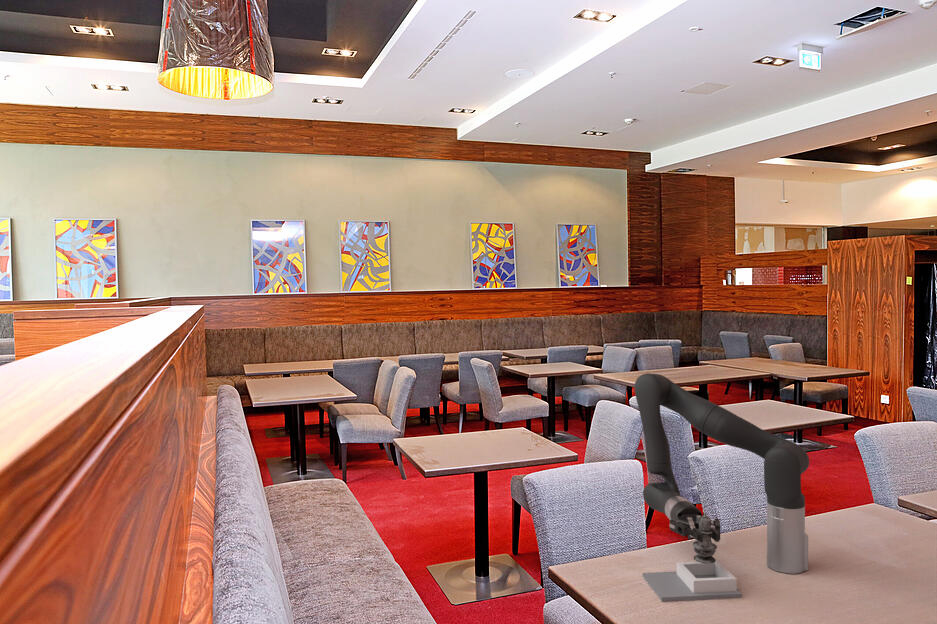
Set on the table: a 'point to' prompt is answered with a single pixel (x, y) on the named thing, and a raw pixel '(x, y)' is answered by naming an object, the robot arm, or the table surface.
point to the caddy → (694, 582)
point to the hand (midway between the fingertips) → (709, 538)
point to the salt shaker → (705, 542)
